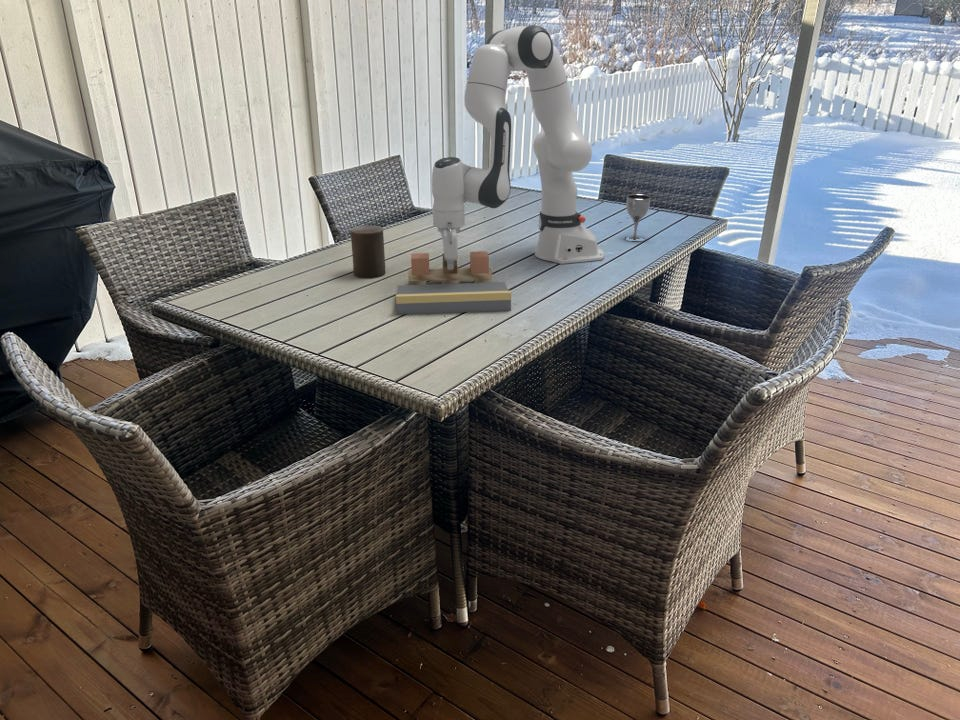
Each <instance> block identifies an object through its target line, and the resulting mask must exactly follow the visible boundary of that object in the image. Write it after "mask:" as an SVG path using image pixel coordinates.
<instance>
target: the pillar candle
mask: <svg viewBox="0 0 960 720" xmlns="http://www.w3.org/2000/svg"><path fill="white" fill-rule="evenodd" d="M350 239H351V240H350V241H351V251H352V252H351V253H352V265H353V266H352V269H353V270H352V271H353V274H354V276H355V277H357V278H361V279H362V278H363V279H364V278H365V279H375V278H379V277H382V276H385V274H386V253H385V239H384V228H383V227H381V226H379V225H359V226H358V225H357V226H354V227H352V228H351V229H350Z"/></svg>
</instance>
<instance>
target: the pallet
mask: <svg viewBox="0 0 960 720" xmlns="http://www.w3.org/2000/svg"><path fill="white" fill-rule="evenodd" d="M407 274H408V275H407V277H408V279H407V280H408V285H427V282H428V281H429V282H430V281H441V284H457V283H460V280H473V283H488V282H493V271H492V267H490V266H489V273H482V274H471V270H470V267H466V268H465V267H464V268H460V267H459V268H458V259H457V260H454V269H453V270H448V269H447V261H446V260H445V258H444V252H443V253H442V268H435V269H434V268H433V269H432V268H431V269H430V268H429V275H420V276H412V269H408V273H407Z"/></svg>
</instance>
